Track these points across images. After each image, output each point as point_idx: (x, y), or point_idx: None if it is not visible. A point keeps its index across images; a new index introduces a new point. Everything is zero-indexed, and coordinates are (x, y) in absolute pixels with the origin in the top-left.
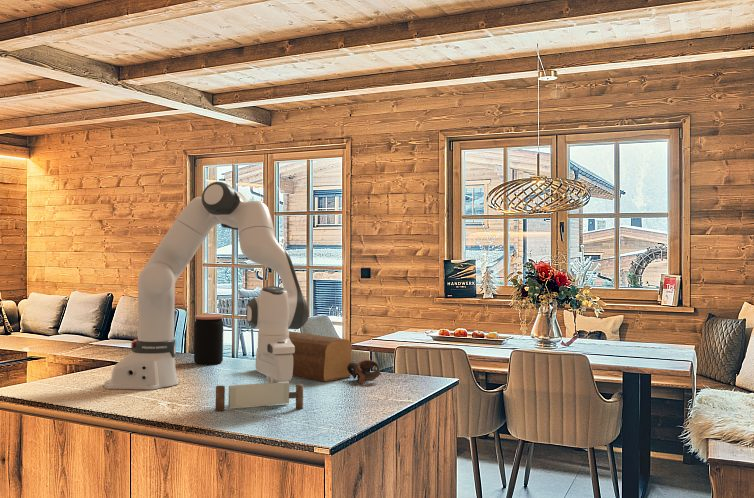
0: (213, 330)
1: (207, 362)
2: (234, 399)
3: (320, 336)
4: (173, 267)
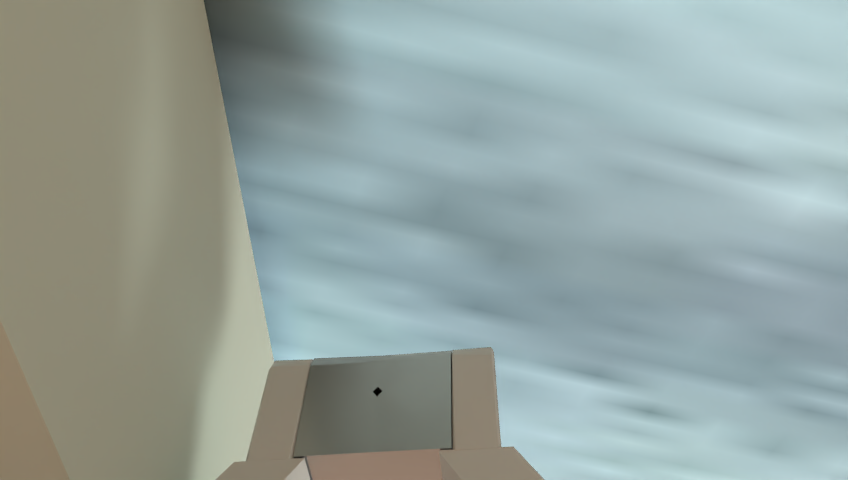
0: None
1: None
2: None
3: None
4: None
